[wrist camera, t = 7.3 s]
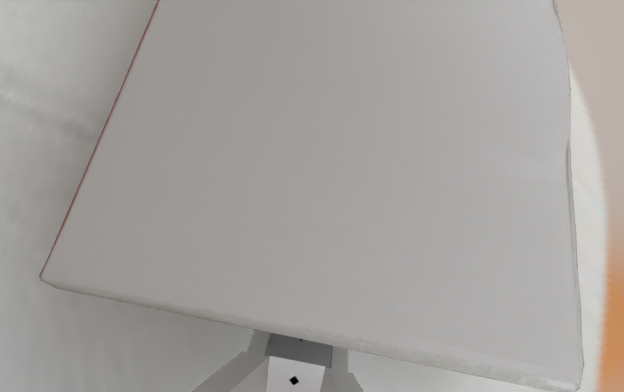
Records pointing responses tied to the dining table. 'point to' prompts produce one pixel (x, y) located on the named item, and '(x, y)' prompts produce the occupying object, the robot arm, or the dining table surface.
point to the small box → (345, 181)
